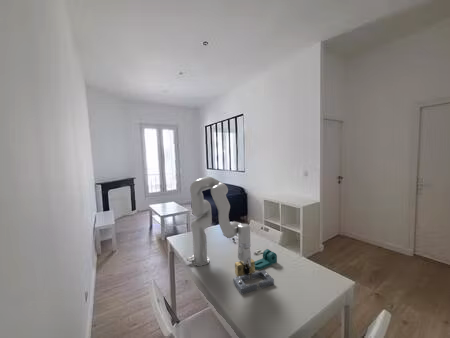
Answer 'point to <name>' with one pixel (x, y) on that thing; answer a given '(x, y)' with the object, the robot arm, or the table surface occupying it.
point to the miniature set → (234, 239)
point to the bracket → (266, 260)
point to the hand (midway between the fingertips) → (244, 271)
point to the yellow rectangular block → (240, 268)
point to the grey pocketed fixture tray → (244, 289)
